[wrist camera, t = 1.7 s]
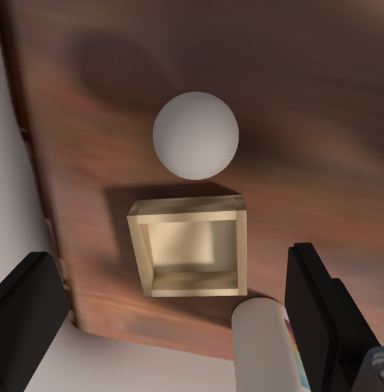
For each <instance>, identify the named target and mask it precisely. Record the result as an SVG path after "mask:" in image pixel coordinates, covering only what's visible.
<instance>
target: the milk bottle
mask: <svg viewBox="0 0 384 392" xmlns="http://www.w3.org/2000/svg"><path fill="white" fill-rule="evenodd" d="M231 322H232V339H233V352H234V365H235V377H236V388H237V392H311V390H310V387H309V384H308V381H307V377H306V374H305V371H304V368H303V364H302V361H301V358H300V355H299V351H298V348H297V345H296V342H295V338H294V335H293V332H292V329H291V325H290V322H289V319H288V316H287V312H286V309H285V308H284V306H282V305H281V304H280V303H279V302H277V301H275V300H273V299H269V298H261V297H259V298H252V299H248V300H246V301H244V302H242V303H241V304H239V305H238V306H237V307H236V309H235V310H234V312H233V314H232V318H231Z"/></svg>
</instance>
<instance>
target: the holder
mask: <svg viewBox="0 0 384 392" xmlns="http://www.w3.org/2000/svg"><path fill="white" fill-rule="evenodd" d="M127 220H128V224H129V229H130V234H131V238H132V243H133V247H134V252H135V257H136V261H137V266H138V271H139V275H140V280H141V284H142V289H143V294H144V297H185V296H238V295H247V222H246V206H245V202H244V198H243V195H227V196H208V197H190V198H171V199H152V200H135V202H134V204H133V206H132V208H131V209H130V211H129V213H128V215H127Z"/></svg>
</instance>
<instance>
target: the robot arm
mask: <svg viewBox="0 0 384 392" xmlns="http://www.w3.org/2000/svg"><path fill="white" fill-rule="evenodd" d="M285 309H286V312H287V316H288V319H289V322H290V325H291V329H292V332H293V335H294V338H295V342H296V345H297V348H298V351H299V355H300V358H301V361H302V364H303V368H304V371H305V374H306V377H307V381H308V384H309V387H310V390H311V392H384V346H381V345H380V343H379V342H378V340H377V338H376V337H375V335H374V333H373V332H372V330H371V328H370V327H369V325H368V323H367V322H366V320H365V319H364V317H363V315H362V314H361V312H360V310H359V309H358V307H357V305H356V304H355V302H354V300H353V299H352V297H351V295H350V294H349V292H348V291H347V289H346V287H345V286H344V284H343V282H342V281H341V280H340V279H338V278H331V277H330V275H329V273H328V271H327V270H326V268H325V266H324V264H323V263H322V261H321V259H320V257H319V255H318V254H317V252H316V250H315V248H314V247H313V245H312V244H311V243H295V244H294V247H289V250H288V263H287V276H286V289H285ZM69 310H70V304H69V301H68V298H67V295H66V292H65V290H64V287H63V284H62V281H61V279H60V276H59V273H58V270H57V268H56V265H55V262H54V259H53V257H52V256H51V255H49V254H48V253H47V252H30V253H29V254H28V255H27V256H26V257H25V258H24V259H23V260H22V261H21V262H20V263H19V264H18V265H17V266H16V267H15V268H14V269H13V270H12V271H11V273H10V274H9V275H8V276H7V277H6V278H5V279H4V280H3V281H2V282H1V283H0V392H24V390H25V388H26V386H27V385H28V383H29V381H30V380H31V378H32V376H33V374H34V373H35V371H36V369H37V367H38V366H39V364H40V362H41V360H42V359H43V357H44V355H45V353H46V351H47V350H48V348H49V346H50V345H51V343H52V341H53V339H54V337H55V336H56V334H57V332H58V330H59V329H60V327H61V325H62V323H63V322H64V320H65V318H66V316H67V315H68V313H69Z"/></svg>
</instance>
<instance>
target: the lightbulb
mask: <svg viewBox="0 0 384 392" xmlns="http://www.w3.org/2000/svg"><path fill="white" fill-rule="evenodd" d="M238 142H239V130H238V125H237V121H236V119H235V117H234V114H233V113H232V111H231V110H230V108H229V107H228V106H227V105H226V104H225V103H224V102H223V101H222V100H220V99H219V98H217V97H216V96H214V95H211V94H208V93H204V92H188V93H184V94H181V95H179V96H177V97H175V98H173V99H172V100H170V101H169V102H168V103H167V104H166V105H165V106H164V107H163V108H162V109H161V111H160V112H159V114H158V116H157V118H156V120H155V124H154V128H153V143H154V148H155V151H156V154H157V156H158V157H159V159H160V161H161V162H162V163H163V165H164V166H165V167H166V168H167V169H168V170H170V171H171V172H172V173H174V174H176V175H177V176H180V177H183V178H185V179H192V180H199V179H205V178H209V177H211V176H214V175H216V174H218V173H219V172H221V171H222V170H223V169H224V168H225V167H226V166H227V165H228V164H229V163H230V161H231V160H232V158H233V157H234V154H235V152H236V150H237V146H238Z"/></svg>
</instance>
